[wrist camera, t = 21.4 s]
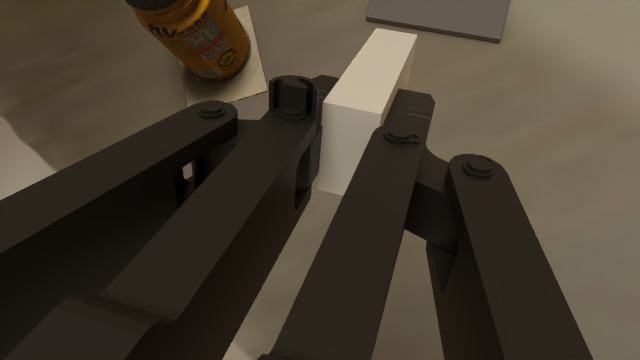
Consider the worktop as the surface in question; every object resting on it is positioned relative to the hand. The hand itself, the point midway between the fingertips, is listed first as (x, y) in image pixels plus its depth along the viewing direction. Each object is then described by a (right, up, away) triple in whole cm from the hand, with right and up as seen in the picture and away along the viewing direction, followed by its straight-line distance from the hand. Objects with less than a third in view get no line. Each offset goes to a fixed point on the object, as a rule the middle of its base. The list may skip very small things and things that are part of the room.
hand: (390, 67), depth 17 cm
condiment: (-12, +7, +24) cm, 28 cm away
